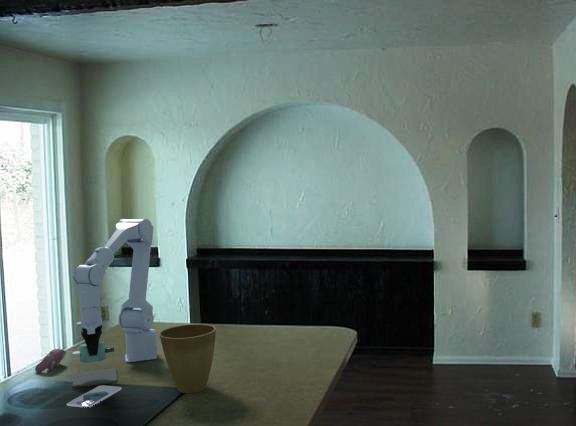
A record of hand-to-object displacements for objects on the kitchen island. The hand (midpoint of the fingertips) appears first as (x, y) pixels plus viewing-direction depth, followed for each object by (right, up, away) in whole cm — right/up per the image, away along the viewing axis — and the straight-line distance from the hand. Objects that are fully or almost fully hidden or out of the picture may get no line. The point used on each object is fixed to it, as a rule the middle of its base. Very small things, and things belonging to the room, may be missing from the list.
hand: (93, 353), depth 190 cm
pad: (0, -7, +1) cm, 7 cm away
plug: (0, -2, 0) cm, 2 cm away
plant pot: (+30, -7, -12) cm, 33 cm away
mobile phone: (+5, -9, -15) cm, 18 cm away
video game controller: (-16, -8, +13) cm, 22 cm away
